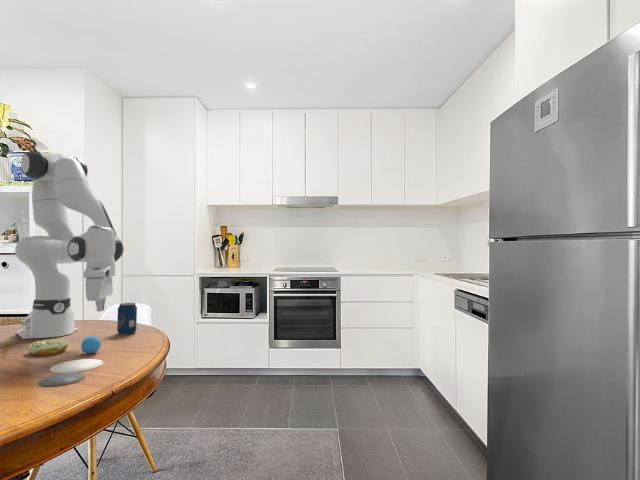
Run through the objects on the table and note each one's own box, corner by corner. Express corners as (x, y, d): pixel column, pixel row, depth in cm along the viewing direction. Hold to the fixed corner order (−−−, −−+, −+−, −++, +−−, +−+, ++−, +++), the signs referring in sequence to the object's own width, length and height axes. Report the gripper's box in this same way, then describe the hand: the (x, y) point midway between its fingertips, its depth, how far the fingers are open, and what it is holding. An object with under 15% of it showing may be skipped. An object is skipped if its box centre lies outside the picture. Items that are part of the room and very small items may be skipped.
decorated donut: (27, 359, 116) (27, 347, 116) (29, 351, 125) (29, 340, 125) (67, 354, 122) (67, 342, 122) (67, 347, 130) (67, 336, 131)
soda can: (113, 333, 151) (114, 304, 151) (130, 330, 156) (131, 302, 157) (123, 336, 147) (123, 305, 147) (139, 333, 153) (140, 303, 153)
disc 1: (31, 381, 96) (31, 380, 96) (74, 371, 104) (74, 370, 104) (49, 389, 90) (49, 388, 90) (92, 378, 99) (92, 377, 99)
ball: (77, 354, 121) (78, 337, 121) (95, 350, 126) (95, 333, 126) (86, 356, 118) (86, 339, 118) (104, 352, 123) (104, 336, 123)
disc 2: (41, 367, 107) (41, 367, 107) (89, 357, 118) (89, 356, 118) (62, 376, 100) (62, 375, 100) (111, 364, 111) (111, 363, 111)
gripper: (98, 270, 141) (98, 307, 140) (81, 272, 121) (81, 315, 121) (117, 270, 143) (117, 306, 142) (103, 272, 123) (103, 314, 123)
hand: (100, 310), depth 131 cm, fingers closed
